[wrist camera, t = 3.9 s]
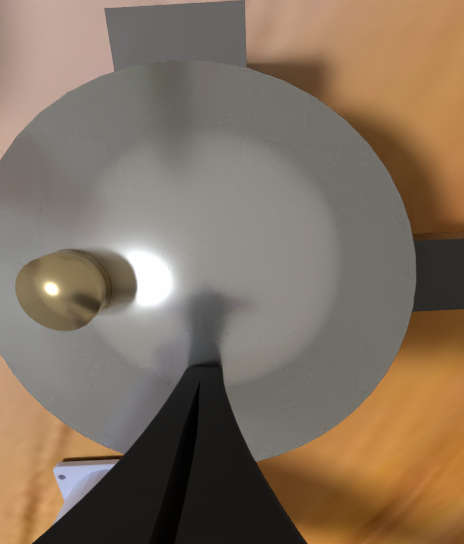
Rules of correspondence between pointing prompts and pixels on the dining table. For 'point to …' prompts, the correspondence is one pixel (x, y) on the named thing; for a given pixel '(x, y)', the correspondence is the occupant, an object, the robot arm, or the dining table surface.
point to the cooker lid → (200, 254)
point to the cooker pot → (232, 50)
